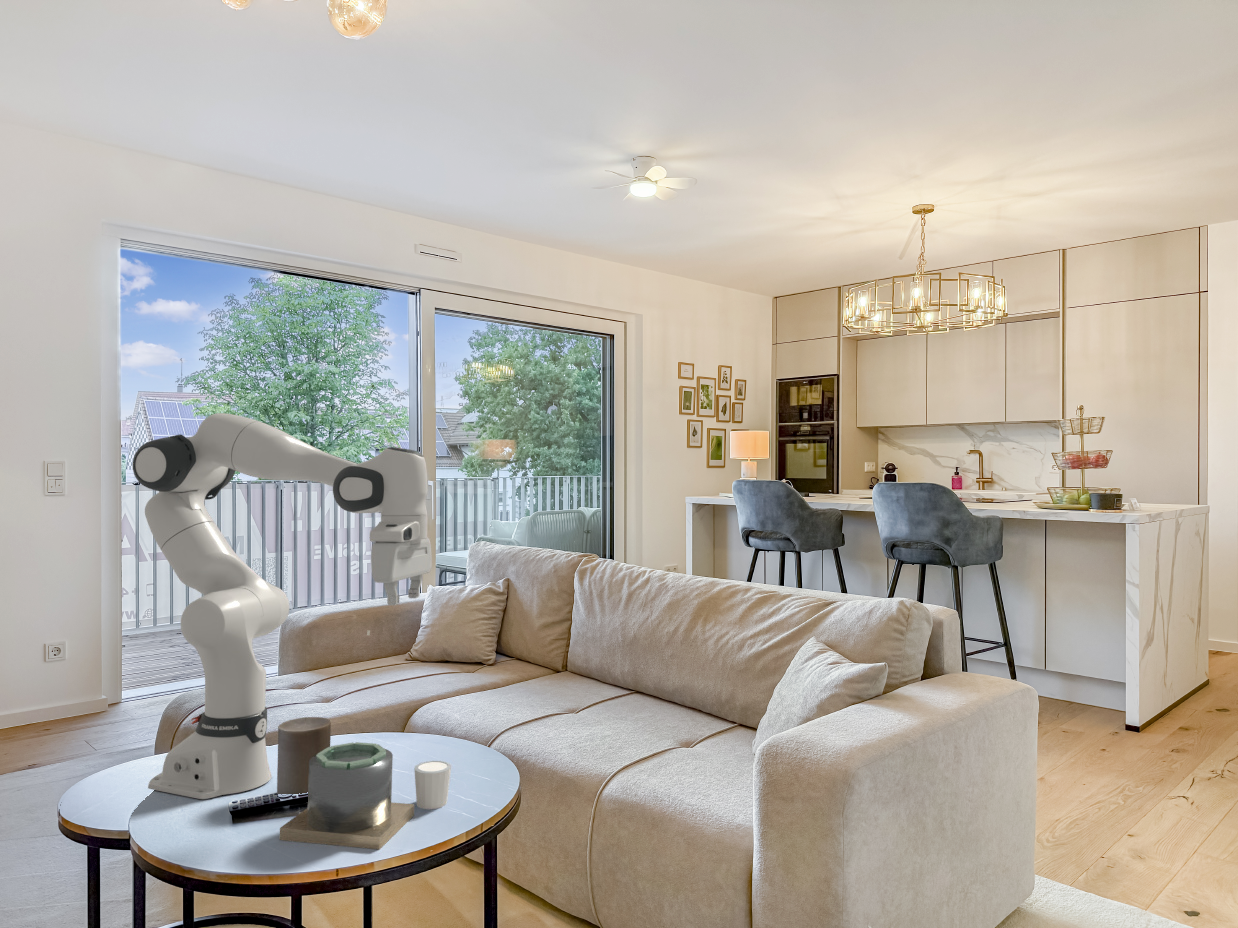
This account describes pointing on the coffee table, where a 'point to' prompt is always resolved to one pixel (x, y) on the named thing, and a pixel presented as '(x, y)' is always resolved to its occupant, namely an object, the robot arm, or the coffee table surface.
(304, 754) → the pillar candle
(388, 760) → the green-rimmed dark canister
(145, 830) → the coffee table surface
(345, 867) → the coffee table surface
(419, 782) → the white cylinder
